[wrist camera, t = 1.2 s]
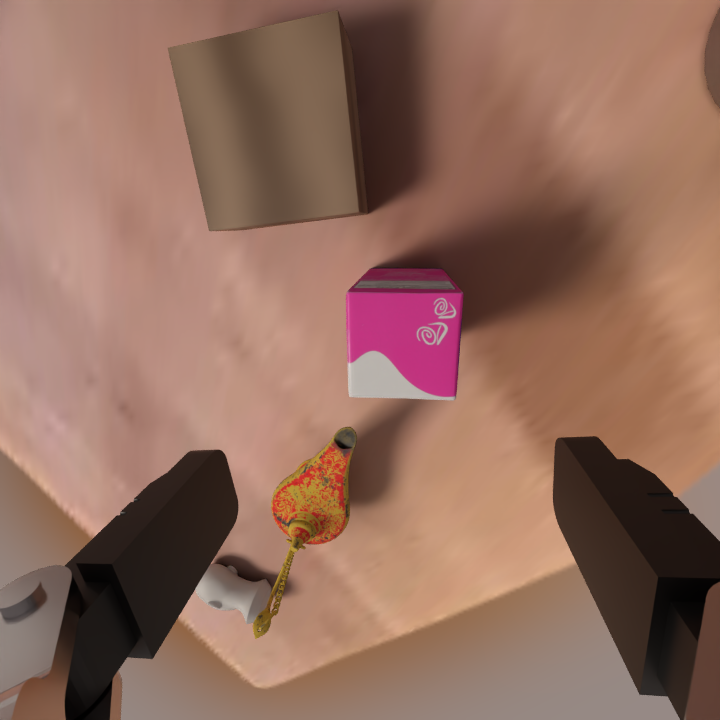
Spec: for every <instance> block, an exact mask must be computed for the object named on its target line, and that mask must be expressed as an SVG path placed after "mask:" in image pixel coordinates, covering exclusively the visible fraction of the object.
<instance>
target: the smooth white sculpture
mask: <svg viewBox="0 0 720 720" xmlns="http://www.w3.org/2000/svg"><path fill="white" fill-rule="evenodd" d="M237 574H238V572H237V570H236V569H235V568H234V567H233V566H228V567H225V566H223V565H221V564H210V566H209V567H208V569H207V571H206V572H205V574H204V575H203V577H202V579H201V580H200V582H199V584H198V585H197V587H196V593H197V595H198V596H199V598H200V599H201V600H202V601H204V602H205V603H206V604H207V605H209V606H211V607H212V608H214V609H217V610H234V609H238V610H239V611H241V612H242V614H243V616H244V618H245V622H246V624H249V623H254V620H255V618H256V617H257V616H258V615H259V613H261V612H262V611H263V610H264V609H265V608H266V607H267V603H268V600H269V597H270V594H271V586H270V584H269V583H268V581H267V580H266V579H263V580H261V581H258V582H251V581H248V580H245V579H243V578H241V577H239V576H238V575H237Z"/></svg>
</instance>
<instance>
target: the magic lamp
mask: <svg viewBox="0 0 720 720" xmlns="http://www.w3.org/2000/svg"><path fill="white" fill-rule="evenodd" d="M356 442H357V435H356V432H355V431H354V429H353V428H351V427H344V428H342V429H340V430H339V431H338V432H337V433H336V434H335V435H334V437H333V438H332V440H331V441H330V442H329V444H328V445H327V446H326V447H325V448H324V449H323V450H322V451H321V452H319V453H318V454H317V455H316V456H315V457H314V458H313V459H310V460H307V461H305V462H303V463H302V464H301V465H300V466H299V467H298V469H297V470H296V472H295V473H293V474H292V475H290V476H288V477H287V478H286V479H284V480H283V481H282V482H281V483H280V484H279V486H278V487H277V488H276V490H275V492H274V494H273V497H272V501H271V509H272V514H273V517H274V520H275V522H276V524H277V525H278V527H279V528H280V529H281V530H282V531H283V532H284V533H285V534H286V535H287V536H289V537H290V538H291V539H292V540H289V539H287V540H286V541H287V542H288V543H290V544H291V546H290V549H289V551H288V554H287V557H286V559H285V562H284V564H283V566H282V569H281V571H280V573H279V576H278V578H277V580H276V583H275V585H274V587H273V590H272V592H271V595H270V597H269V600H268V603H267V607H266V608H265V609H264V610H263V611H262V612H261V613H259V615H258V616H257V617H256V618H255V620H254V623H253V632H254V635H255V639H257V638H259V637H260V636H262V635H264V634H265V633H266V632H267V631H268V629H269V627H270V624H271V618H272V617H273V616H274V615H277V613H278V610H279V606H280V601H281V599H282V595H283V591H284V588H285V584H286V579H287V578H288V574H289V570H290V566H291V563H292V559H293V557H294V555H293V554H295V553H294V552H297V551H298V550H299V548H302V549H305V546H303V545H302V544H304V543H305V544H323V543H326V542H329V541H331V540H333V539H335V538H336V537H338V536H339V535H340V534H341V533H342V532H343V530H344V529H345V528H346V526H347V523H348V521H349V516H350V503H349V493H348V476H349V466H350V461H351V457H352V454H353V451H354V448H355V445H356ZM290 560H291V562H290ZM288 563H290V565H289V564H288ZM286 567H289V569H288V568H286ZM285 571H287V572H285ZM284 572H285V573H284ZM284 575H286V577H285V576H284ZM283 576H284V577H283ZM281 578H282V580H281ZM280 580H281V581H280ZM283 580H285V582H284V581H283ZM282 581H283V582H282ZM279 583H280V585H279ZM278 585H279V588H278V589H279V590H278V592H277V596H276V598H275V603H274V605H273V607H274V608H273V609H272V613H270V607H271V603H272V600H273V597H274V595H275V592H276V590H277V587H278ZM281 585H283V586H281ZM280 587H281V588H280ZM280 590H282V593H281V591H280ZM279 591H280V592H279ZM278 596H280V598H279V597H278ZM277 598H278V599H277ZM277 602H279V604H278V603H277ZM276 603H277V604H276ZM275 604H276V605H275ZM274 609H277V611H276V610H275V611H274ZM273 611H274V612H273ZM260 629H261V631H258V630H260Z"/></svg>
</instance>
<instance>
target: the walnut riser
mask: <svg viewBox="0 0 720 720" xmlns="http://www.w3.org/2000/svg"><path fill="white" fill-rule="evenodd" d="M168 51H169V56H170V60H171V65H172V69H173V73H174V78H175V82H176V87H177V91H178V96H179V100H180V104H181V109H182V113H183V118H184V122H185V126H186V131H187V135H188V140H189V144H190V148H191V153H192V157H193V162H194V166H195V170H196V175H197V179H198V184H199V188H200V193H201V197H202V201H203V206H204V210H205V215H206V219H207V223H208V228H209V231H235V230H247V229H255V228H263V227H271V226H279V225H287V224H295V223H303V222H311V221H319V220H326V219H334V218H342V217H350V216H358V215H366V214H368V206H367V196H366V186H365V175H364V165H363V155H362V145H361V135H360V124H359V114H358V104H357V94H356V84H355V73H354V63H353V53H352V47H351V45H350V42H349V39H348V37H347V34H346V31H345V29H344V26H343V23H342V20H341V18H340V15H339V12H338V10H336V11H332V12H327V13H323V14H318V15H314V16H309V17H305V18H300V19H296V20H291V21H287V22H282V23H278V24H273V25H269V26H264V27H260V28H255V29H251V30H246V31H242V32H237V33H233V34H228V35H224V36H219V37H215V38H210V39H206V40H201V41H197V42H192V43H188V44H183V45H179V46H174V47H170V48H168Z"/></svg>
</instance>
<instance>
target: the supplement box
mask: <svg viewBox="0 0 720 720" xmlns="http://www.w3.org/2000/svg"><path fill="white" fill-rule="evenodd" d="M463 296H464V295H463V292H462V291H461V290H460V289H459V287H458V286H457V285H456V284H455V283H454V282H453V281H452V279H451V278H450V277H449V276H448V275H447V274H446V273H445V271H444V270H443V269H437V268H436V269H433V268H371V269H369V270H368V271H367V272H366V273H365V274H364V275H363V276H362V277H361V278H360V279H359V280H358V281H357V282H356V283H355V284H354V285H353V286H352V287H351V288H350V289H349V290H348V291H347V294H346V331H347V359H348V388H349V397H365V398H408V399H430V400H455V399H456V392H457V380H458V366H459V353H460V338H461V324H462V309H463Z"/></svg>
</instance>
